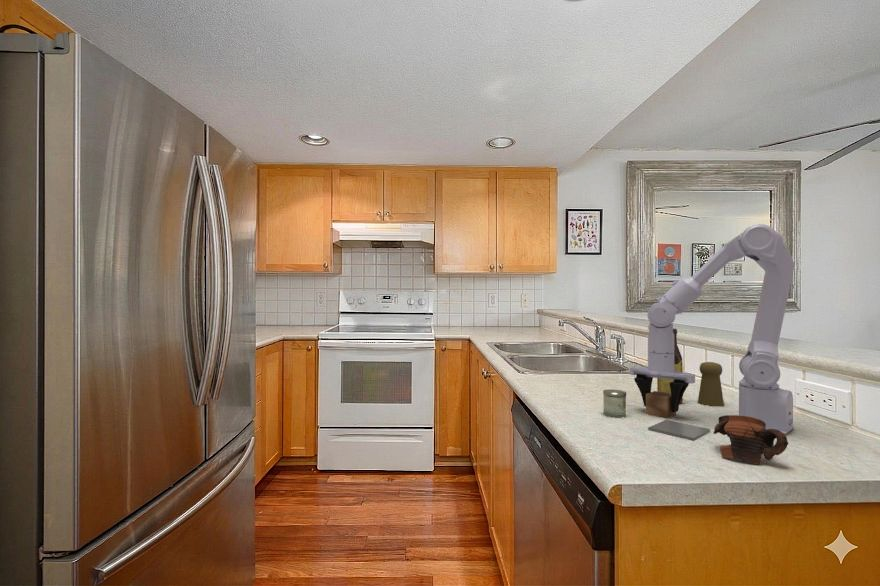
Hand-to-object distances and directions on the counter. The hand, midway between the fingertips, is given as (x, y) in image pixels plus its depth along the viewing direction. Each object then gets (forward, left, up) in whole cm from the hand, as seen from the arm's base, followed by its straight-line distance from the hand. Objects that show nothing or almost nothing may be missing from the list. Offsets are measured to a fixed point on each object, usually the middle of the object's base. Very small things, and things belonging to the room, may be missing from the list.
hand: (660, 408), depth 106 cm
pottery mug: (-22, +16, -2) cm, 28 cm away
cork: (-4, -21, -2) cm, 21 cm away
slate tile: (-8, +10, -1) cm, 13 cm away
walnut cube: (0, 0, -2) cm, 2 cm away
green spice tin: (+7, +9, -2) cm, 12 cm away
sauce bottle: (+4, -15, -2) cm, 16 cm away
